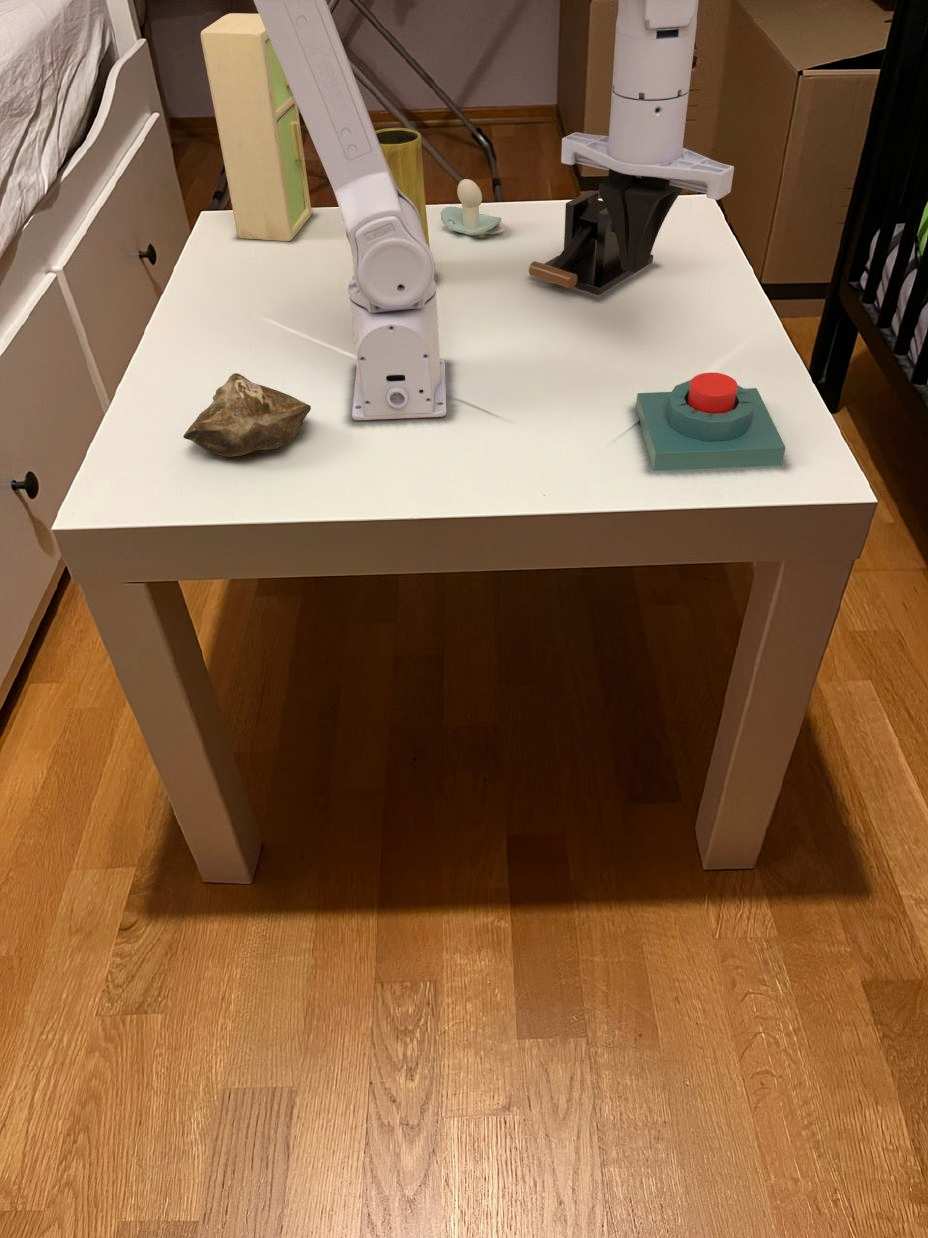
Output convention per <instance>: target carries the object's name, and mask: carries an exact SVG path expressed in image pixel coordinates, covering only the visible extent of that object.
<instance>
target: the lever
mask: <svg viewBox="0 0 928 1238" xmlns="http://www.w3.org/2000/svg"><path fill="white" fill-rule="evenodd" d="M605 208H606V206H605V204H604V202H603V200H600V199H598V200H597V199H594V200H593V201H592V202H591V204H590V205H589V206H588V207H587V208H586V210H585V211H584V212H583V213H582V215H581V216H580V217H579V219H580V224H581V230H580V231H579V232H578V233H577V235H576V236H575V237H574V238H573V239H572V241H571V242H570V243H569V244H568V246H567V247H566V248H565V249H564V248H563V250H562V251H561V252H560V254H559V255H558V256H559V257H558V258H557V259H556V260H555V261H554V263H553V264H552V265H551V266H549V265H546V264H544V263H542V262H539V261H536V260H535V261H532V262H531V263H530V264H529V266H528V274H529V276H531V277H533V278H536V279H539V280H542V281H546V282H549V283H552V284H554V285H558V286H561V287H563V288H566V289H575V288H574V287H575V285H576V283H577V275H576V274H574V273H571V272H568V271H566V269H567V268H568V267H569V266H570V265H571V263H572V262H573V261H574V260H575V258H576V257H577V256H578V255H579V253H580V252H581V251H582V250H583V249H584V247H585V246H586V245H587V244H588V242H589V241H590V240H591V239H595V240H597V230H598V214H599V212H600V211H602V210H604V209H605Z"/></svg>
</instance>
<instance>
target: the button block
mask: <svg viewBox="0 0 928 1238" xmlns="http://www.w3.org/2000/svg"><path fill="white" fill-rule="evenodd" d="M691 380H692V379H689V380H687V381H684V382H682V383H679V384H676V385H675V386H674V387H673V389H672V390H671V391H656V392H654V391H653V392H637V394H636V401H635V402H636V403H635V407H636V411H637V414H638V418H639V420H638V423H639V427H640V430H641V433H642V436H643V440H644V443H645V447H646V450H647V453H648V456H649V460H650V463H651V466H652V467H651V468H652V470H653V472H657V471H658V472H659V471H679V470H681V471H684V470H705V469H706V470H707V469H728V468H730V469H731V468H749V467H750V468H751V467H772V466H773V467H774V466H776V467H777V466H782V465H783V460H784V456H785V452H786V445H785V443H784V442H783V439H782V438H781V435H780V433H779V431H778V429H777V427H776V425H775V423H774V421H773V419H772V417H771V415H770V413H769V411H768V408H767V405H766V404H765V403H764V400H763V398H762V396H761V394H760V392H759V390H758V388H757V387H750V388H749V387H748V388H746V387H745V388H744V387H743V386H741V385H739V384H737V385H738V388H737V393H736V399H735V404H734V408H733V409H732V410H731V411H729V412H726V413H718V414H710V413H705V412H701V411H697V410H695V409H693V408H692V407H690V406H689V404H688V397H689V390H690V383H691Z"/></svg>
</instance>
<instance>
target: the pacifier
mask: <svg viewBox="0 0 928 1238" xmlns="http://www.w3.org/2000/svg"><path fill="white" fill-rule="evenodd" d="M456 192H457V198H458V199H459V201H460V203H461V207H459V206H447V207H444V208H442V209H441V211H440V220H441V222H442V224H443V225H444V226H445V227H446V228H448V229H449V230H450V231H453V232H457V233H460V234H464V235H467V236H475V237H476V236H477V237H479V236H480V237H481V236H485V235H497V234H501V233H504V232H505V231H506V225H505V224H504V223H503V222H502V217H500V216H499V217H498V216H493V215H487V214H483V213H480V209H479V207H480V205H481V204H482V202H483V194H482V191H481V189H480V187H479V186H478V184H477V183H476V182H475V181H473V180H472V179H468V178H464V179H462V180H460V182H459V183H458V185H457V191H456Z"/></svg>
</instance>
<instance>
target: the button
mask: <svg viewBox="0 0 928 1238" xmlns="http://www.w3.org/2000/svg"><path fill="white" fill-rule="evenodd" d="M690 380H691V383H690V390H689V397H688V404H689V406H690V407H692V408H693V409H695V410H697V411H701V412H705V413H710V414H718V413H726V412H729V411H731V410H732V409H733V408H734V404H735V399H736V393H737V388H738V385H739V384H738V383H737V381H736V380H735V378H733V377H731V376H729V375H727V374H724V373H720V372H711V371H710V372H703V373H698V374H697V375H694V376H693V377H692V378H691V379H690Z"/></svg>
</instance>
